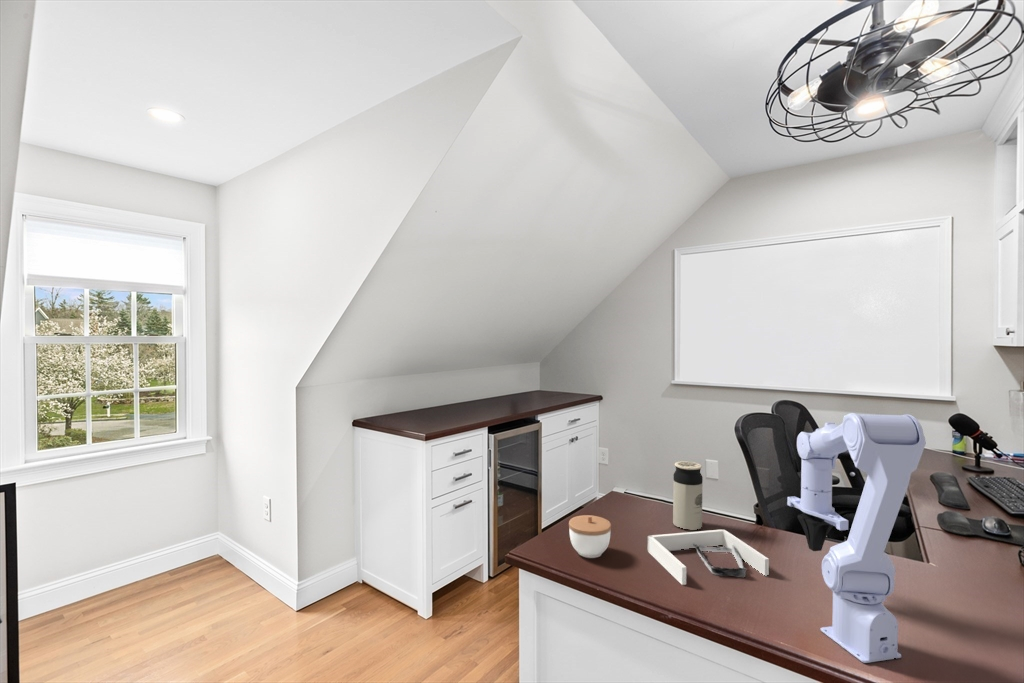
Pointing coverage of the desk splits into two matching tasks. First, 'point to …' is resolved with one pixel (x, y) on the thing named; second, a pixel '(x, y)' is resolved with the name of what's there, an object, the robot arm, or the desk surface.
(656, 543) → the box
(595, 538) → the lidded jar
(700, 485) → the travel mug
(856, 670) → the desk surface
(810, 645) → the desk surface
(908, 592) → the desk surface
